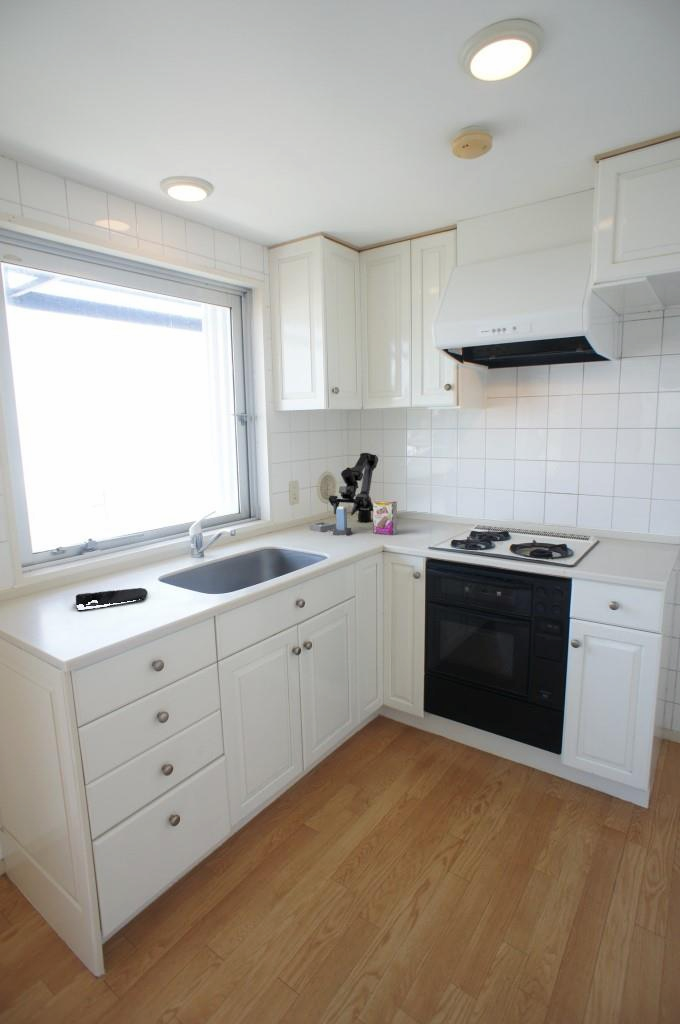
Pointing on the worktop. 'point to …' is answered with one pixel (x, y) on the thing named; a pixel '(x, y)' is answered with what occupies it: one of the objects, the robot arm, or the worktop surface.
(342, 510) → the light blue tall block
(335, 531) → the holster
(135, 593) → the dark slate chunk
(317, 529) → the port
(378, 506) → the candy bar box
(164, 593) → the worktop surface
